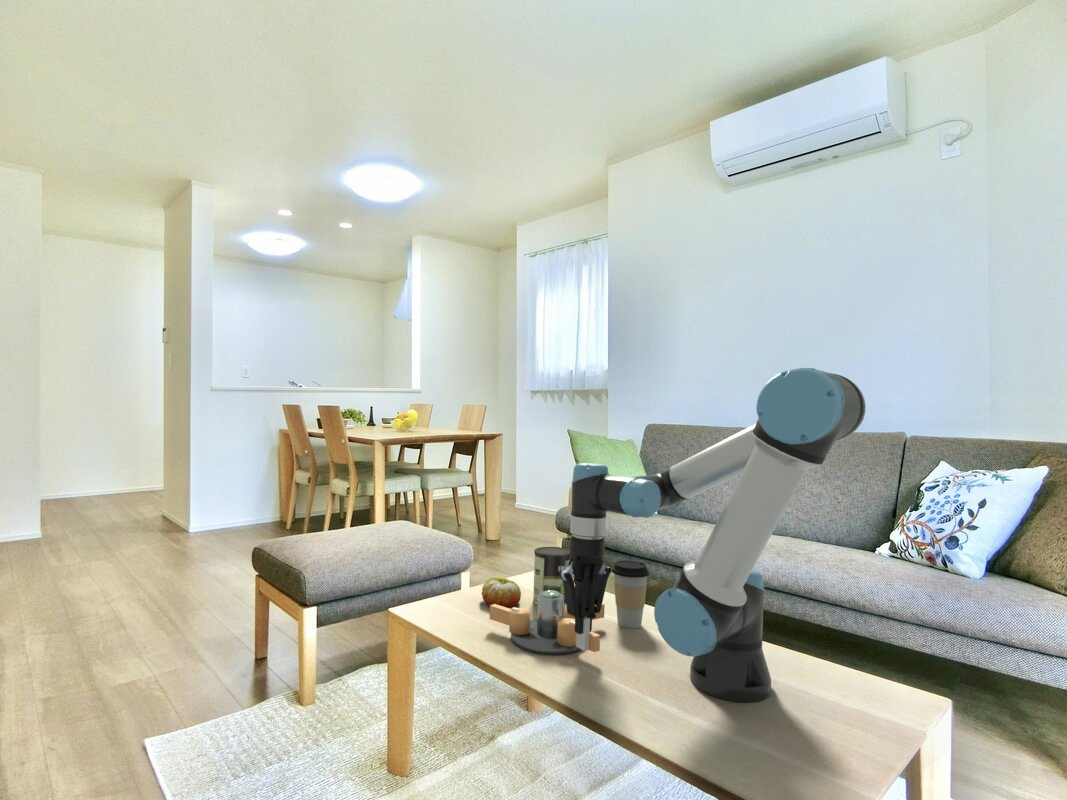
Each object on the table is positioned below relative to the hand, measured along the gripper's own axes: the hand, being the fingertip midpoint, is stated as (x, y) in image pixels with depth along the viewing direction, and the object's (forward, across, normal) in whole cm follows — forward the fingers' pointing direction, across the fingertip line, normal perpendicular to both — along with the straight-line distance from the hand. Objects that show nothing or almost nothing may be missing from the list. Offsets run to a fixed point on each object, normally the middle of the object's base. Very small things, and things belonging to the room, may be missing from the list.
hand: (582, 648), depth 120 cm
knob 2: (+1, -11, -13) cm, 17 cm away
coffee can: (+2, -17, -34) cm, 38 cm away
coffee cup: (+2, -24, -11) cm, 26 cm away
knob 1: (+1, +6, -20) cm, 20 cm away
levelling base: (+3, -1, -13) cm, 13 cm away
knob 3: (+1, -1, -3) cm, 3 cm away
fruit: (+3, -3, -40) cm, 40 cm away
